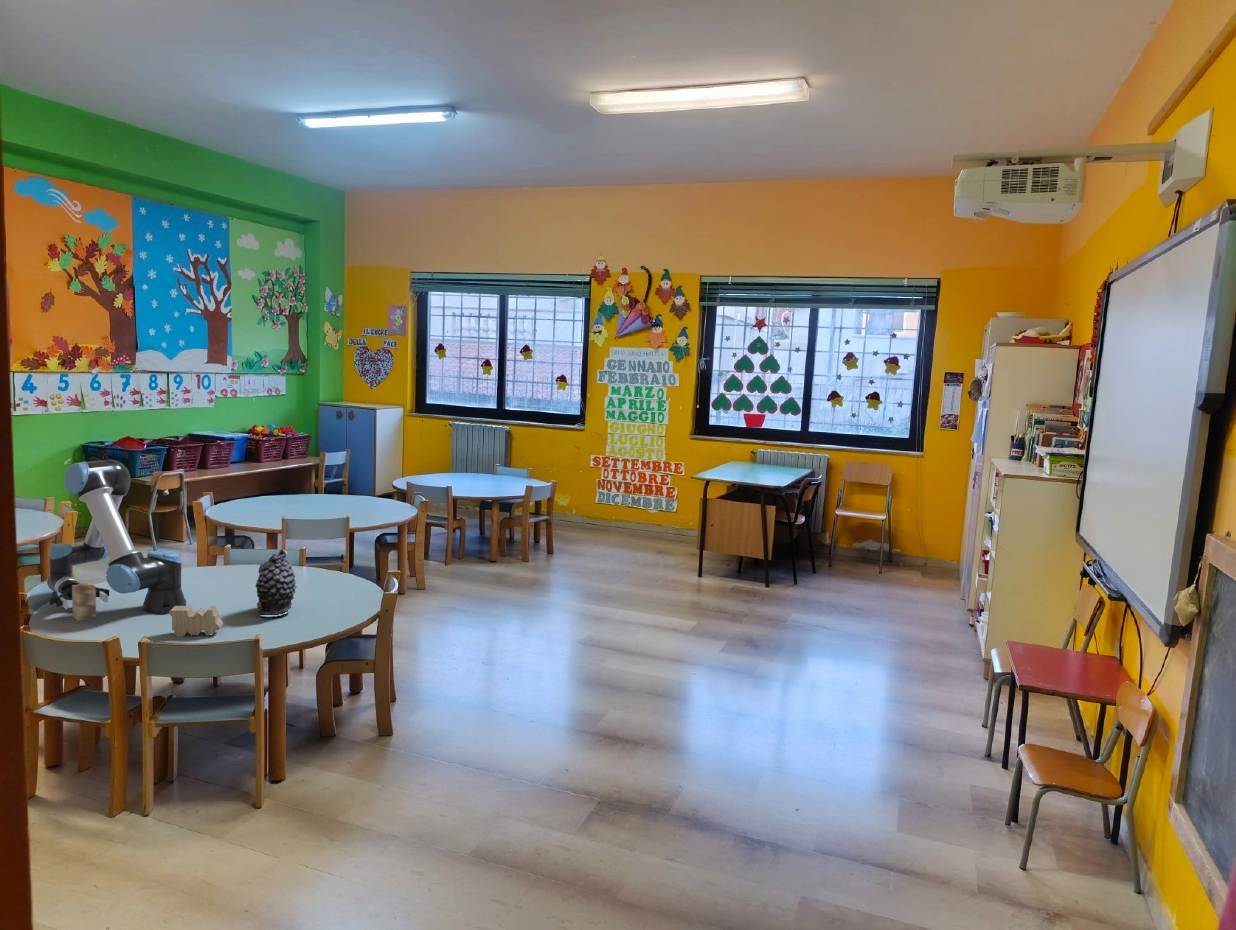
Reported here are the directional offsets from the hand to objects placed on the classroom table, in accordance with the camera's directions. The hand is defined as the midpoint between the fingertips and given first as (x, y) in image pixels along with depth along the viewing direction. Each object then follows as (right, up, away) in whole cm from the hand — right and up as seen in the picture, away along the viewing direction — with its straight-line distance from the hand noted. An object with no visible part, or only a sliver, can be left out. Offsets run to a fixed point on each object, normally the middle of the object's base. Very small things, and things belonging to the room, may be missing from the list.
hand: (87, 602), depth 303 cm
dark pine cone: (+61, -8, +24) cm, 66 cm away
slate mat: (-1, -7, +3) cm, 7 cm away
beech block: (-3, -6, +3) cm, 7 cm away
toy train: (+44, -11, -5) cm, 46 cm away
